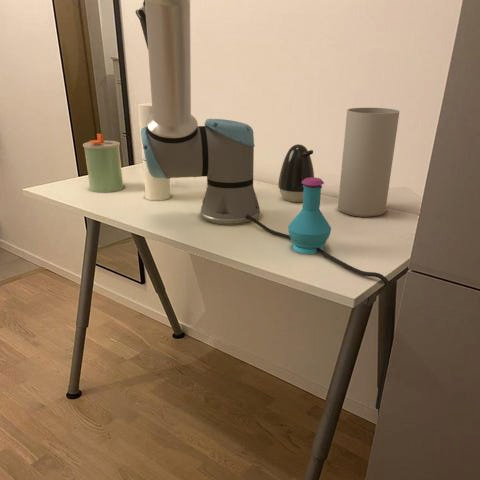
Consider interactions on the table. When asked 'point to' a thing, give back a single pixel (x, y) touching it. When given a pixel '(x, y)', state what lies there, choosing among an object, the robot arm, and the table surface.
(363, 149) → the cylinder vase
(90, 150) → the green lidded canister
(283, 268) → the table surface
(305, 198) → the perfume bottle
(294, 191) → the pump dispenser
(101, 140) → the lid slider
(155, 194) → the cylindrical container
